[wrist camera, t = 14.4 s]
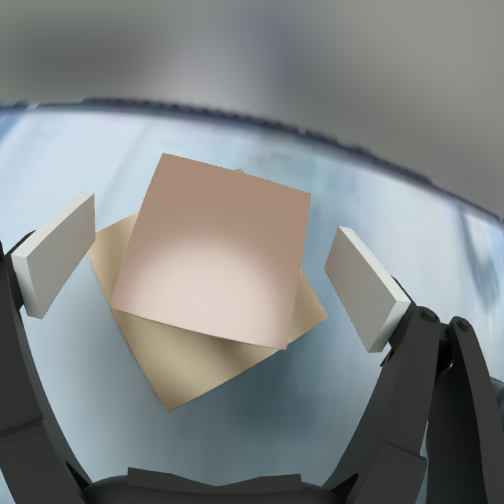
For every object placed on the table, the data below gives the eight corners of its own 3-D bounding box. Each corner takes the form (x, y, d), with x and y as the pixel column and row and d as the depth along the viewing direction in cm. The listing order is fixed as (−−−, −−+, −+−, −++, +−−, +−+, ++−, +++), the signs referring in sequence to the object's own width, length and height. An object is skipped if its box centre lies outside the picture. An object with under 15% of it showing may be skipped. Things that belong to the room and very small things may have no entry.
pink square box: (260, 251, 25) (310, 194, 15) (241, 343, 23) (286, 350, 13) (170, 227, 24) (162, 152, 14) (144, 319, 22) (109, 307, 11)
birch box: (232, 191, 32) (240, 168, 27) (307, 320, 30) (328, 317, 25) (98, 255, 27) (83, 239, 22) (170, 398, 25) (167, 412, 20)
